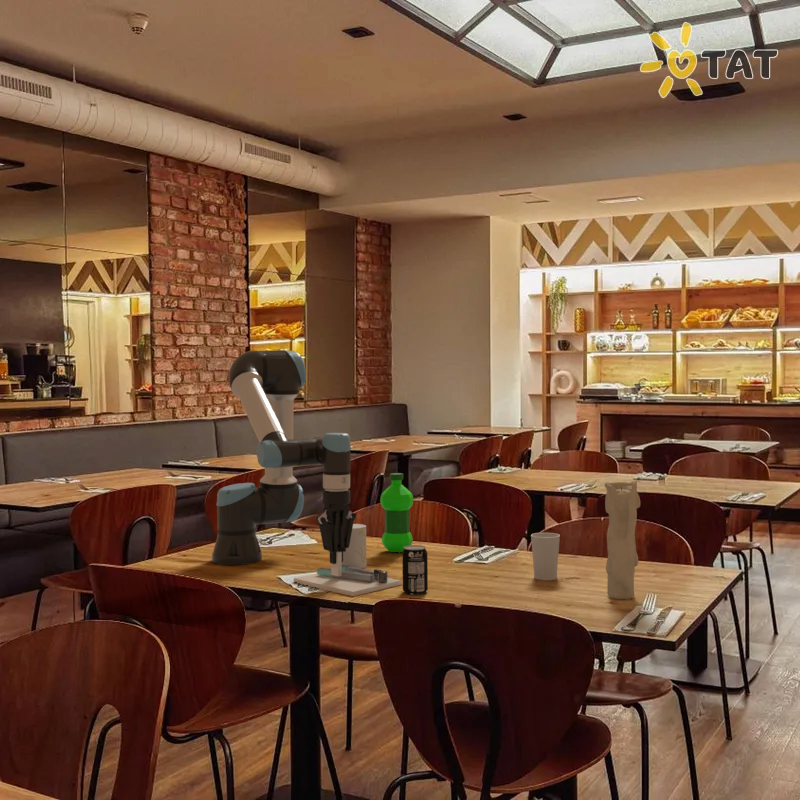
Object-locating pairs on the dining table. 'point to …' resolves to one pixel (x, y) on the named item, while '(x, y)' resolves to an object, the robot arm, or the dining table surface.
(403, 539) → the plastic bottle
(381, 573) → the tongs fixed
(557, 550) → the cup
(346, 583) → the rest board
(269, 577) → the dining table surface
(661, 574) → the dining table surface
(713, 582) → the dining table surface
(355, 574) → the bar
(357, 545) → the cup
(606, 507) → the beige lumpy column
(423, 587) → the beverage can
